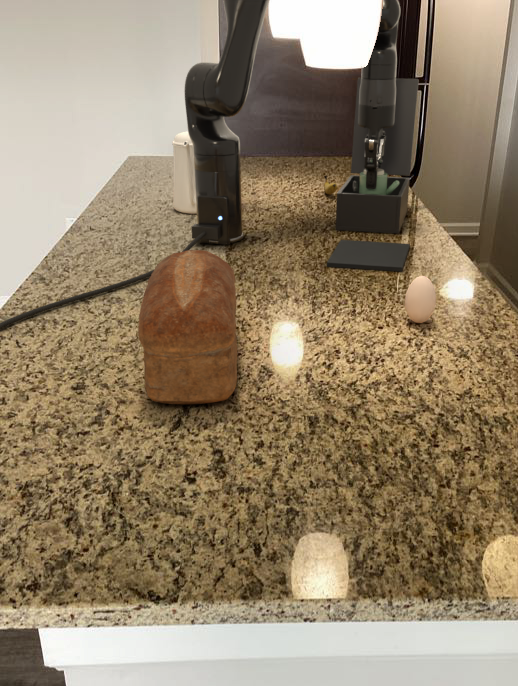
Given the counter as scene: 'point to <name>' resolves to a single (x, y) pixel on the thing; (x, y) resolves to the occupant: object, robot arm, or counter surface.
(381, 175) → the kettle
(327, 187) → the banana
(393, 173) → the storage bin lid
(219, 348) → the bread
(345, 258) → the mat
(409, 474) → the counter surface
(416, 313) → the egg
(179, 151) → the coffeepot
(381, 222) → the dark gray storage bin
